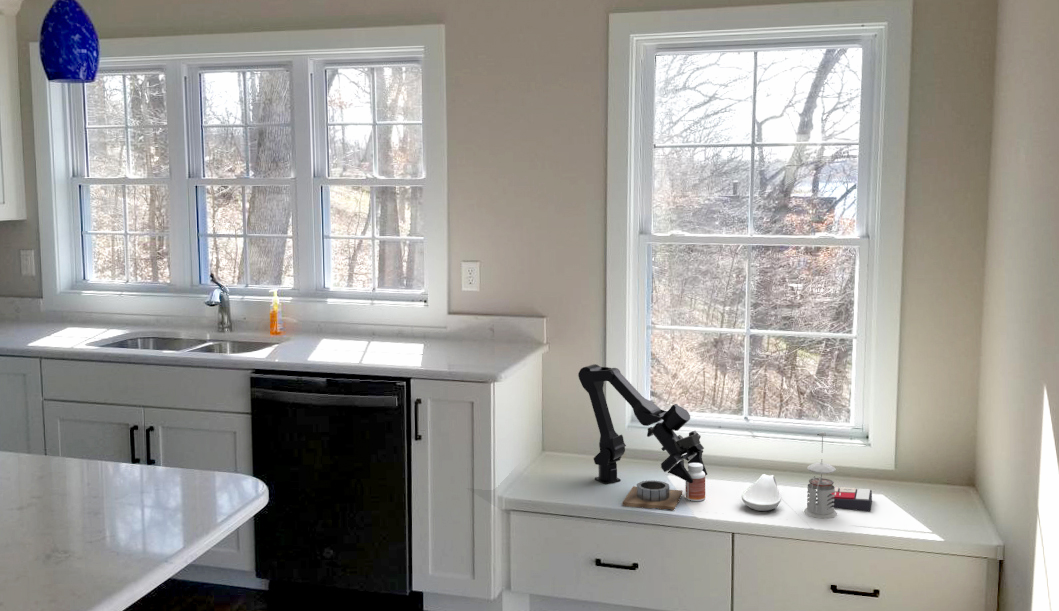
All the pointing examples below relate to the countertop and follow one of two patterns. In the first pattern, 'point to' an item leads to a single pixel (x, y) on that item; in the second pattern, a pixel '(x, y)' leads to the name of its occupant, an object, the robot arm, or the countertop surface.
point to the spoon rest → (762, 494)
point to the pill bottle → (696, 482)
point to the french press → (820, 491)
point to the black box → (852, 498)
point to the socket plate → (666, 504)
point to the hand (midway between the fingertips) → (699, 478)
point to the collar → (653, 491)
